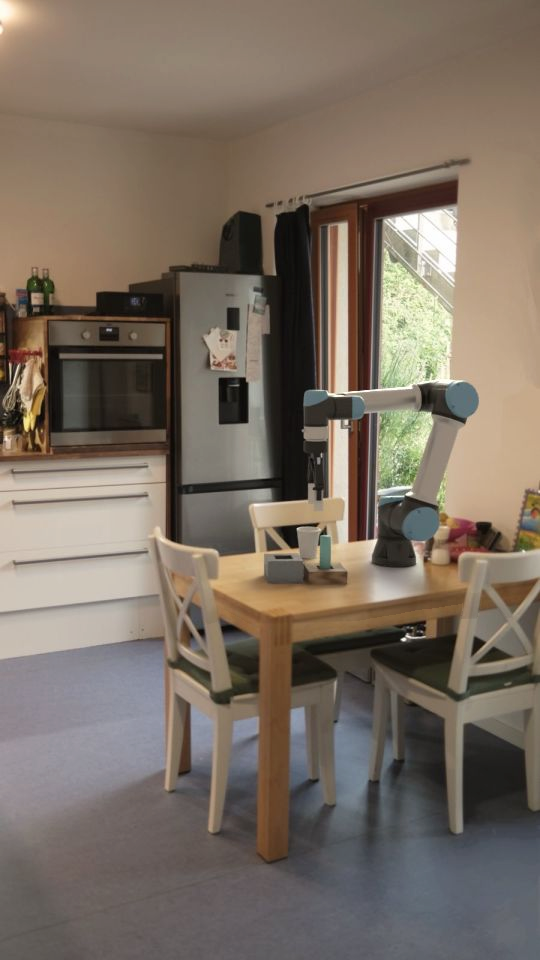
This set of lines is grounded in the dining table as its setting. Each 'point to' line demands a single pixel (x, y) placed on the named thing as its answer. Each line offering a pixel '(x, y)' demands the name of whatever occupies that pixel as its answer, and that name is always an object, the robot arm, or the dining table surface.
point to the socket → (283, 568)
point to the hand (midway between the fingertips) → (315, 507)
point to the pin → (325, 552)
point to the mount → (324, 574)
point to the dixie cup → (308, 541)
